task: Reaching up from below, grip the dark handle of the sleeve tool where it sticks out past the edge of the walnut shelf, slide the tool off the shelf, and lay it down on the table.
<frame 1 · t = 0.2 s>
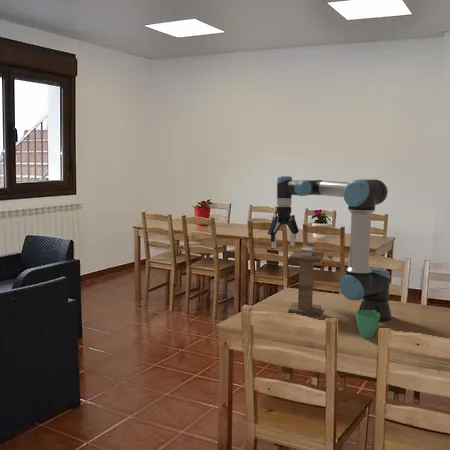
hand: (283, 247, 286), 28 cm above the table, tool pointing down, fingers open, 13 cm apart
stand: (304, 311, 266), on the table
mug: (368, 335, 233), on the table
sleeve tool: (309, 252, 269), point 28 cm above the table, touching stand
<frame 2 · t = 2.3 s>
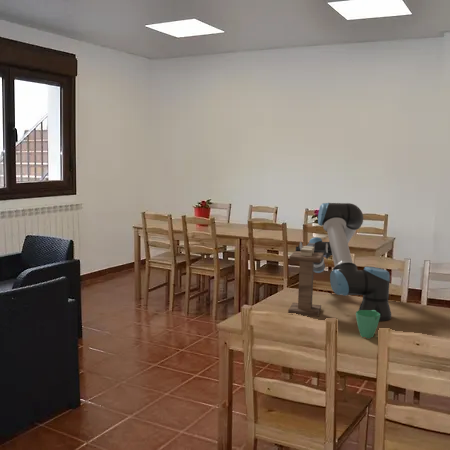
hand: (313, 244, 287), 29 cm above the table, tool pointing upward, fingers open, 13 cm apart
nothing on the table moved.
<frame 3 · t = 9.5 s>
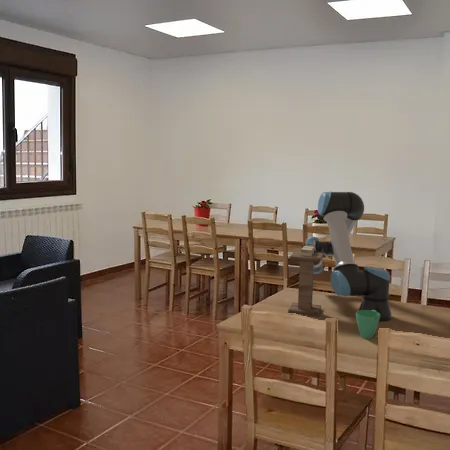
hand: (310, 242, 272), 32 cm above the table, tool pointing upward, fingers closed on sleeve tool, 3 cm apart
sleeve tool: (309, 252, 269), point 28 cm above the table, touching gripper, stand
everything else where it was.
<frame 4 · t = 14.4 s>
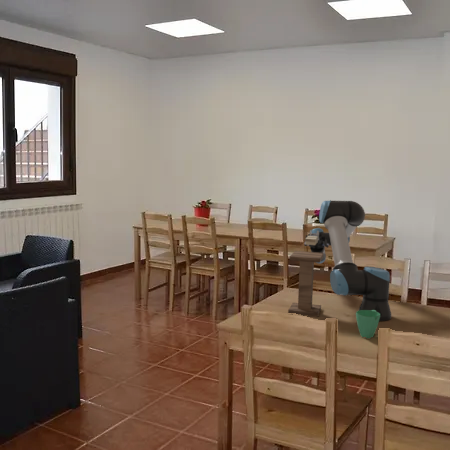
hand: (314, 232, 286), 35 cm above the table, tool pointing upward, fingers closed on sleeve tool, 3 cm apart
sleeve tool: (312, 241, 283), point 31 cm above the table, touching gripper
everything else where it was.
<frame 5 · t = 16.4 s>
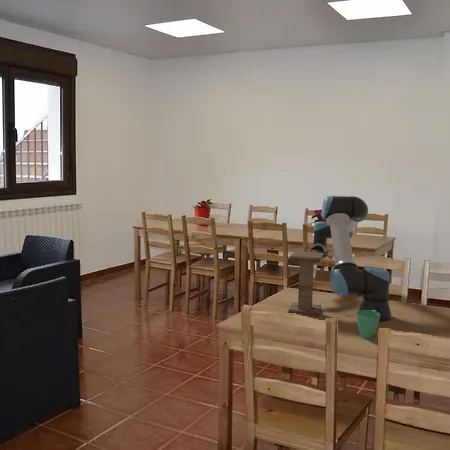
hand: (312, 257, 286), 22 cm above the table, tool horizontal, fingers closed on sleeve tool, 3 cm apart
sleeve tool: (312, 267, 286), point 17 cm above the table, tilted 29°, touching gripper
everything else where it was.
when the fingers open (14 cm above the table, at t = 19.2 s): sleeve tool drops 9 cm, on the table.
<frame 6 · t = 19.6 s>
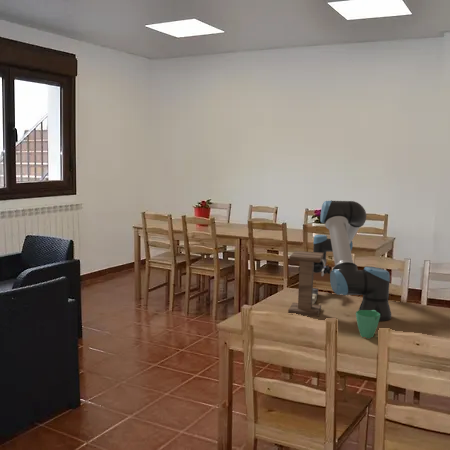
hand: (312, 272, 289), 14 cm above the table, tool horizontal, fingers open, 9 cm apart
sleeve tool: (312, 298, 291), on the table
everything else where it was.
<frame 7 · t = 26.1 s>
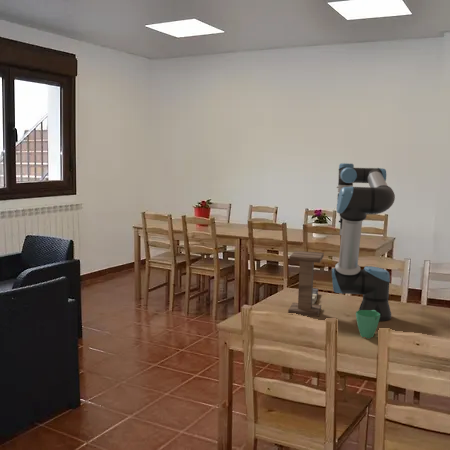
hand: (343, 233, 289), 35 cm above the table, tool pointing down, fingers open, 13 cm apart
nothing on the table moved.
at the end: sleeve tool on the table; sleeve tool touching table; sleeve tool moved 34.0 cm from its start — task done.
